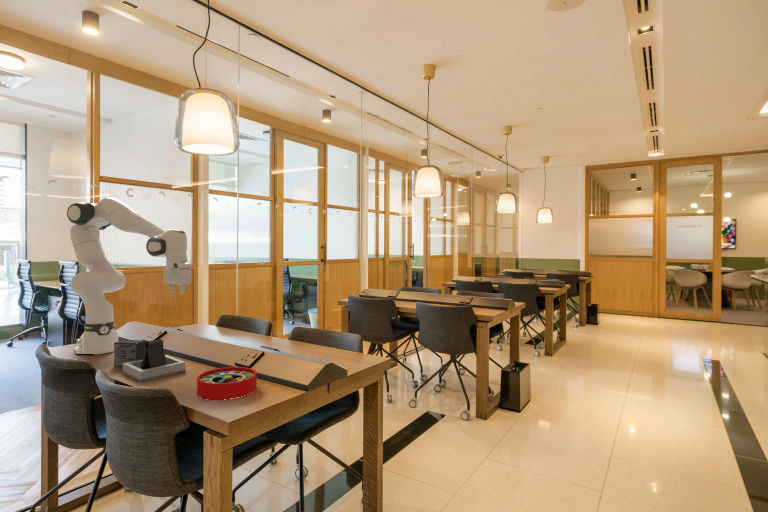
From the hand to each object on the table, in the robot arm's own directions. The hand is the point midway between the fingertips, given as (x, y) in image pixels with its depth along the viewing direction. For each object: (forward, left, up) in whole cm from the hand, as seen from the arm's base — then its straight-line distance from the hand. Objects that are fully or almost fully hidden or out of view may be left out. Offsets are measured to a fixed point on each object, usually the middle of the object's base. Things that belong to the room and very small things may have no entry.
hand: (176, 293), depth 194 cm
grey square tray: (+19, -18, -29) cm, 39 cm away
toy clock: (+60, -10, -30) cm, 68 cm away
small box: (0, -20, -29) cm, 36 cm away
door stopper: (+19, -18, -28) cm, 38 cm away
